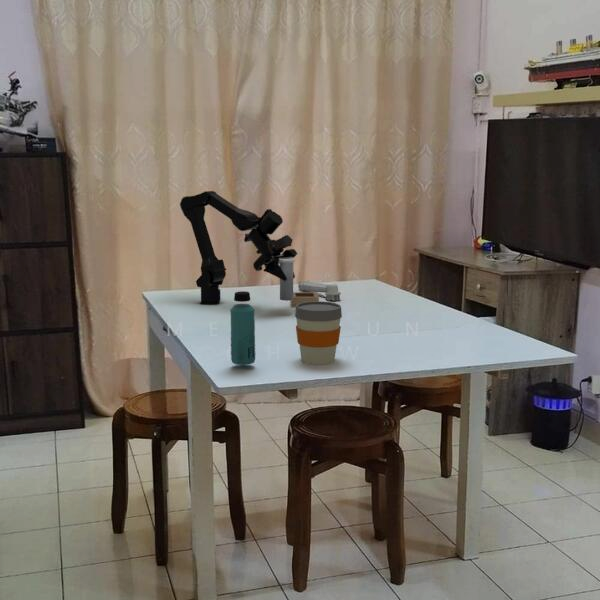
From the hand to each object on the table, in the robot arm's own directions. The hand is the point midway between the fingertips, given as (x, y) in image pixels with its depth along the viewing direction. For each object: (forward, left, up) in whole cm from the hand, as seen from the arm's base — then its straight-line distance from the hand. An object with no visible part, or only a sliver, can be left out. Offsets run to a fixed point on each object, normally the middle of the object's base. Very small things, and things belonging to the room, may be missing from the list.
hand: (290, 278), depth 267 cm
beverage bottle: (-14, -61, -13) cm, 64 cm away
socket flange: (+6, +17, -12) cm, 22 cm away
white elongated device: (+12, +33, -13) cm, 38 cm away
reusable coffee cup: (+6, -55, -13) cm, 57 cm away
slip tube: (-1, +1, -7) cm, 7 cm away
